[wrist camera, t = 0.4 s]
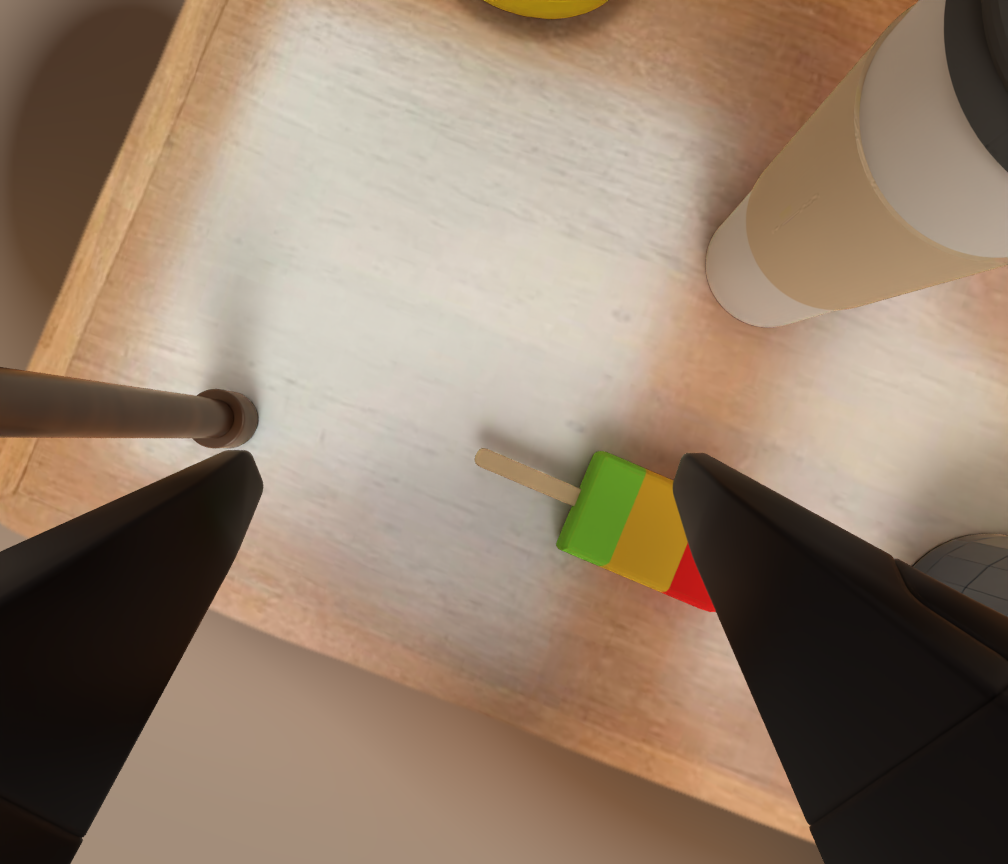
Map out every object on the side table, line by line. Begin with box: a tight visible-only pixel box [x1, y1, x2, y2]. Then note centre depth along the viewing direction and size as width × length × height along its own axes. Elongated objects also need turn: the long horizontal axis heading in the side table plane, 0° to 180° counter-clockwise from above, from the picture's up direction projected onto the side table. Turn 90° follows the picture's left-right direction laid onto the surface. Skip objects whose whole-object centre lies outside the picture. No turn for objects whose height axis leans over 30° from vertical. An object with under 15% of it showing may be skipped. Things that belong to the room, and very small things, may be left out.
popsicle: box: [475, 448, 716, 612], centre depth 20 cm, size 6×15×2 cm, turn 67°
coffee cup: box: [706, 0, 1008, 328], centre depth 14 cm, size 9×9×15 cm
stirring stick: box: [0, 367, 258, 448], centre depth 15 cm, size 3×3×13 cm
